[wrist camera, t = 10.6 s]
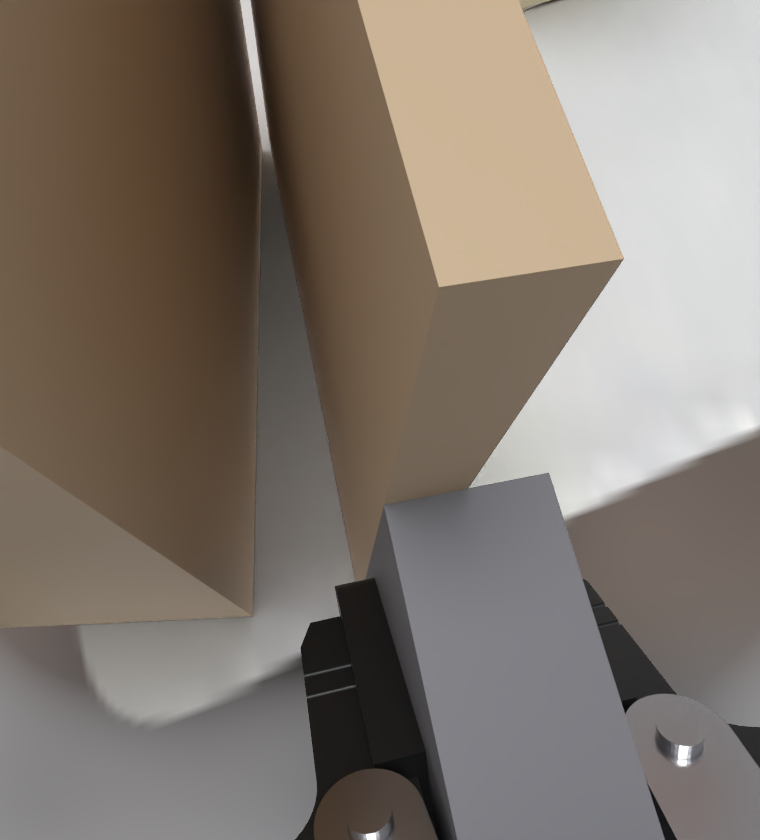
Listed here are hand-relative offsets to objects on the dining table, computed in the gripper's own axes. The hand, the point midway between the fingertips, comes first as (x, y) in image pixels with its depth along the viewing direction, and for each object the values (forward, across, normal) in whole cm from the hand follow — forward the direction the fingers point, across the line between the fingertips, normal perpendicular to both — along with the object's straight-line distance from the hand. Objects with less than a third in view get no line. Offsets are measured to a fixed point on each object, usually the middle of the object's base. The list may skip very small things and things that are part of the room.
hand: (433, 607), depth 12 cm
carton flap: (+9, 0, 0) cm, 9 cm away
